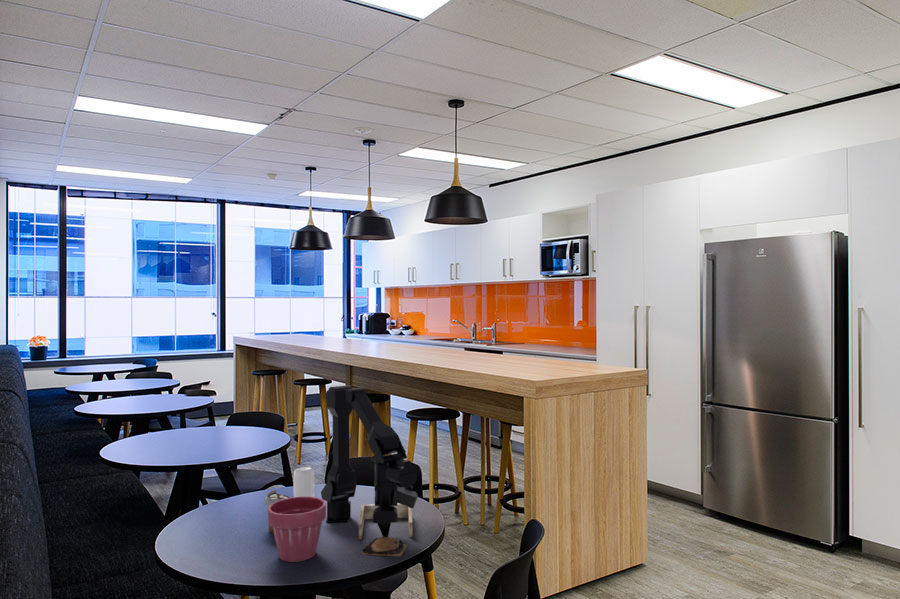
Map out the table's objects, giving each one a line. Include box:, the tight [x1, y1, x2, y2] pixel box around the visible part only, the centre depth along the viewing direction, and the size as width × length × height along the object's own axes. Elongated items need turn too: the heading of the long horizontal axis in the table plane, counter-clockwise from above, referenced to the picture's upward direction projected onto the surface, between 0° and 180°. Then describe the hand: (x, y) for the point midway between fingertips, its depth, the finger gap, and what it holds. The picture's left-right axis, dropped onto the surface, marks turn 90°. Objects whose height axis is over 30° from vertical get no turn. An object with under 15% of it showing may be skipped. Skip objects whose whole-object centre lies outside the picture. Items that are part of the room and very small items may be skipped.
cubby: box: [358, 503, 413, 540], centre depth 175 cm, size 15×17×4 cm
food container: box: [264, 489, 291, 535], centre depth 172 cm, size 12×6×10 cm, turn 48°
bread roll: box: [361, 536, 408, 557], centre depth 159 cm, size 11×8×4 cm
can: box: [293, 465, 315, 497], centre depth 195 cm, size 6×6×12 cm
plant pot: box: [267, 496, 327, 563], centre depth 156 cm, size 14×14×13 cm
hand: (385, 538), depth 164 cm, fingers closed
